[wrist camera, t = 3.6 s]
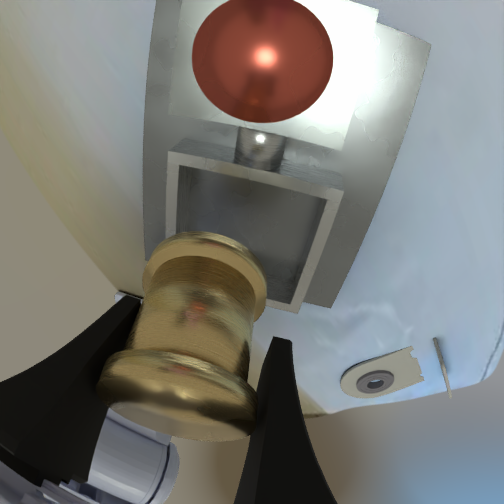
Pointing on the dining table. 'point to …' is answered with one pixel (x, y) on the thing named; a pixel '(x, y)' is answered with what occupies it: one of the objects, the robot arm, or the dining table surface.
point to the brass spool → (191, 341)
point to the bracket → (387, 374)
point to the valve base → (275, 131)
